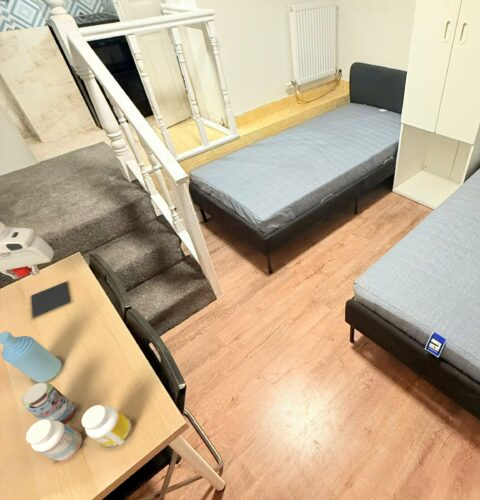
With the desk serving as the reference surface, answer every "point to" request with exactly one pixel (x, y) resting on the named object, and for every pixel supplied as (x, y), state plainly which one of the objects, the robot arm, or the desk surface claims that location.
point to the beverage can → (48, 403)
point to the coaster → (49, 299)
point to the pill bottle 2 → (106, 425)
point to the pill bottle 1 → (54, 439)
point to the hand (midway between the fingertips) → (27, 275)
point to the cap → (21, 271)
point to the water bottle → (29, 357)
